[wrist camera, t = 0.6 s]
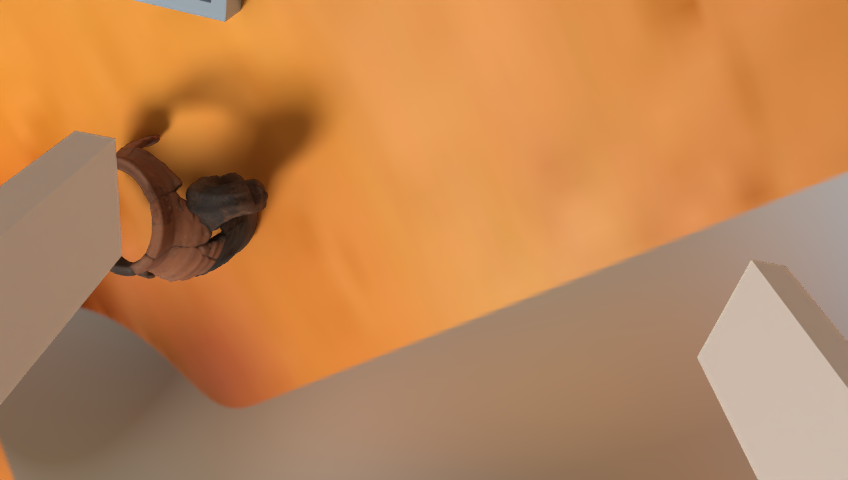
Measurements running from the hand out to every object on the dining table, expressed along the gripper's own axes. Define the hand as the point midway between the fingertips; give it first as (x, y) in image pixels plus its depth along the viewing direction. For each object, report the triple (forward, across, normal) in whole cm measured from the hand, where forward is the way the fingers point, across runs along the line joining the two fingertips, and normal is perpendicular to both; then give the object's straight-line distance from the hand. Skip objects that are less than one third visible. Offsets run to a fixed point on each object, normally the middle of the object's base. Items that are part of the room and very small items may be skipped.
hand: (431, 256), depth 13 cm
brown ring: (+27, -13, -15) cm, 34 cm away
